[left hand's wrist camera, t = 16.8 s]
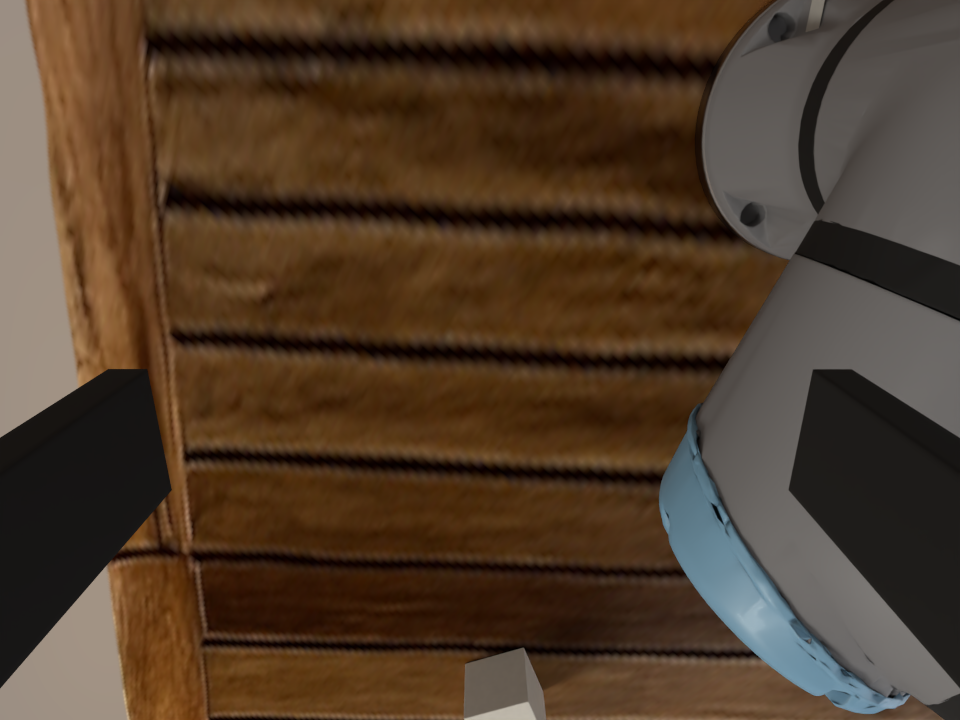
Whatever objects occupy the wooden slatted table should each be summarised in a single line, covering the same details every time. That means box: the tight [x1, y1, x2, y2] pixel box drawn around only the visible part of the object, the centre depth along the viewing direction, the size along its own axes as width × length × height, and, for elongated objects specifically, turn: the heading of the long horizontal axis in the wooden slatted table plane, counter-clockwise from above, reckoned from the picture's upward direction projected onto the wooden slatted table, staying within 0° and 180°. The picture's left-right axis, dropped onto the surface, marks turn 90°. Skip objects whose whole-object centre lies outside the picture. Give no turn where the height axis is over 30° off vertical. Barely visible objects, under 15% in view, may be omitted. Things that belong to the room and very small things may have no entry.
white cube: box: [464, 648, 546, 720], centre depth 48 cm, size 5×5×5 cm
